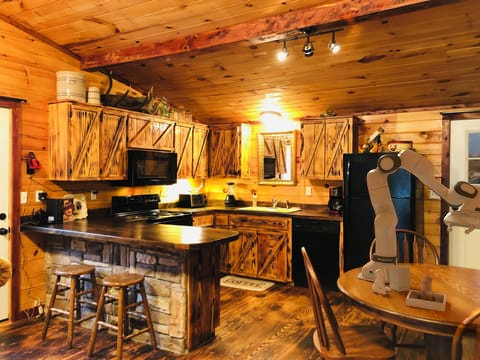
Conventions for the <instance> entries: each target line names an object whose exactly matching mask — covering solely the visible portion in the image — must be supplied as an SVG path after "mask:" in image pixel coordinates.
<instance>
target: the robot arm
mask: <svg viewBox="0 0 480 360" xmlns="http://www.w3.org/2000/svg"><path fill="white" fill-rule="evenodd" d="M376 166H377V167H376V168H375V169H372V170H370V171H369V172H367V175H366V183H367V189H368V194H369V198H370V201H371V202H370V203H371V205H372V207H373V209H374V214H375V218H374V234H375V235H374V236H375V252H374V253H372V255H371V261H368V262H367V263H366V264H365V265H363V267H362V268H361V272H360V273H358V274H357V276H356V277H357V279H358V280H359V279H360V280H364V281H369V282H373V283H375V279H376V278H377V277H376V275H375V273H374V271H376V270H379V269H382V272H383V274H384V279H383V280H384V284H390V266H392V265H398V256H397V235H396V234H397V233H396V227H397V224H398V220H399V219H398V216H397V213H396V209H395V206H394V203H393V200H392V196H391V192H390V187H389V184H388V176H389V175H390V176H391V175H392V174H393V173H395V172H396V171H397V170H399V169H403V170H406V171H408V172H409V173H411V174H412V175H414V176H415V177H416V178H418V180H419V181H420V182H421V184H423V185H424V186H426V188H427V189H429V190H430V191H432V192H433V193H434V194H436V195H437V196H438V197H439V198H440V199H441V200H442V201H443V202H444V203H445V204H446V205H447V206H448V207H450V208H454V209H457V208H460V207H461V208H460V210H451V211H449V212H448V213H447V214H446V216H445V217H444V218H443V222H444V224H445V225H446V226H447V228H446V230H447V232H450V233H451V232H453V229H452V227H459V228H466V229H465V230H464V234H465V235H469V234H470V233H472V232H473V231H475V230H480V185H474V184H471V183H469V182H467V181H465V180H458V181H457V182H455V184H453V185H452V186H451V188H448V187H447V186H445V185H444V184H442V183H441V182H440V181H439V180H438V179H436V176H435V171H434V170H435V168H434V164H433V162H431V160H430V159H428V158H427V157H425V156H424V155H422V154H420V153H418V152H416V151H414V150H411V149H408V148H404V149H402V150H401V151H400V152H399V153H398V154H384V155H383V154H382V155H381V156H380V157H379V158H378V160H377V165H376Z"/></svg>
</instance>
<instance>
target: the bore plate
mask: <svg viewBox="0 0 480 360" xmlns="http://www.w3.org/2000/svg"><path fill="white" fill-rule="evenodd" d="M411 299H418V300H421V293H416V292H413V293H412V295H411ZM424 301H428V300H424ZM431 302H437V303H443V296H437V295H432V301H431Z"/></svg>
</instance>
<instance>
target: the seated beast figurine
mask: <svg viewBox="0 0 480 360" xmlns="http://www.w3.org/2000/svg"><path fill="white" fill-rule="evenodd" d="M374 273H375V275H376V277H377V278H376V279H375V282H373V284H372V285H371V290H372V291H373V292H374V293H375V294H378V295H380V294H381V295H387V292H392V289H391V288H390V287H388V286H386V285H385V284H386V283H384V280H383V279H384V274H383V272H382V269H379V270H376V271H374Z"/></svg>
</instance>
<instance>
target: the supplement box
mask: <svg viewBox="0 0 480 360" xmlns="http://www.w3.org/2000/svg"><path fill="white" fill-rule="evenodd" d="M389 288H390V289H391V290H394V291H396V292H399V293H400V292H409V291H410V290H411V267H409V266H405V265H402V264H397V265H392V266H390V283H389Z"/></svg>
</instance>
